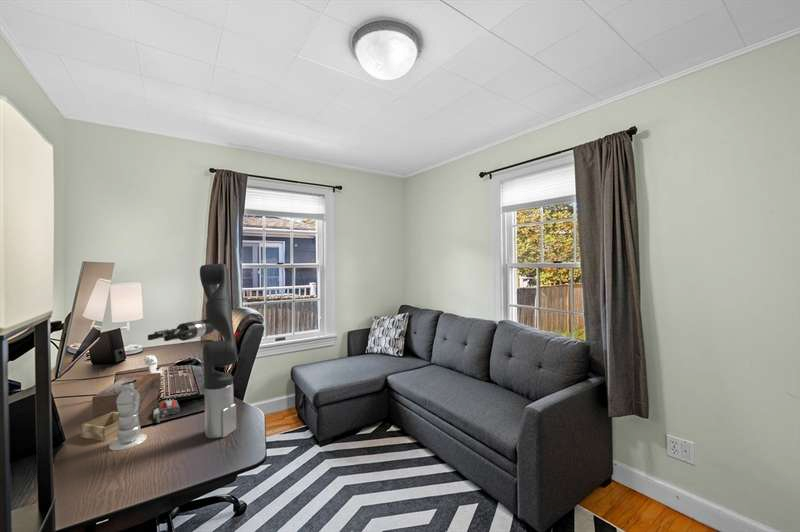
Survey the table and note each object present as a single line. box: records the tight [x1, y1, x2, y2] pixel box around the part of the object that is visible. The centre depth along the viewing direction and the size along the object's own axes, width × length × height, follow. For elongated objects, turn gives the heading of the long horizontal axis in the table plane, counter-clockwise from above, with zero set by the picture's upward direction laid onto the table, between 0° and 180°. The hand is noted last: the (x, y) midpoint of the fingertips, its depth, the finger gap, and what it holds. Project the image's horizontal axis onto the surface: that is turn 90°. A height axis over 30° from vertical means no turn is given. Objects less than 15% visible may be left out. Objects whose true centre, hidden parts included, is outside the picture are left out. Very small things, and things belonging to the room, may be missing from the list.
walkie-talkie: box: [153, 398, 181, 424], centre depth 136 cm, size 9×4×20 cm
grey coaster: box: [109, 433, 148, 451], centre depth 114 cm, size 10×10×1 cm
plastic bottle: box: [116, 381, 142, 443], centre depth 114 cm, size 6×7×20 cm
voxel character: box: [143, 354, 163, 376], centre depth 166 cm, size 7×12×15 cm
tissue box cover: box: [91, 373, 162, 420], centre depth 144 cm, size 26×14×10 cm, turn 18°
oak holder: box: [80, 412, 119, 442], centre depth 121 cm, size 12×11×4 cm
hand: (156, 338), depth 132 cm, fingers open, 8 cm apart
